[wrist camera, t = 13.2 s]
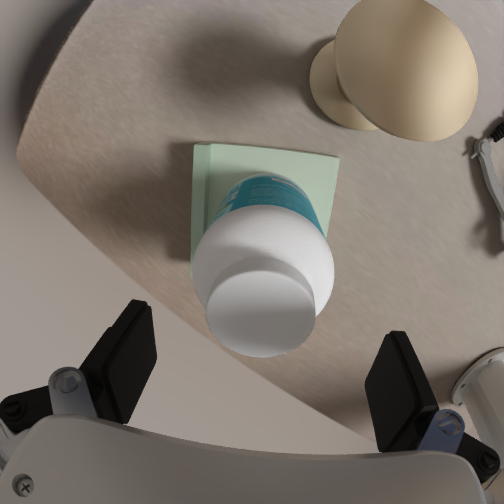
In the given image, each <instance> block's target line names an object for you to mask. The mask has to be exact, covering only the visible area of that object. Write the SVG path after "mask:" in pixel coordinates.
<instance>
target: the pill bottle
mask: <svg viewBox="0 0 504 504" xmlns="http://www.w3.org/2000/svg"><path fill="white" fill-rule="evenodd" d="M192 274H193V283H194V287H195V291H196V293H197V296H198V298H199V300H200V302H201V304H202V305H203V307H204V308H205V310H206V320H207V324H208V326H209V328H210V330H211V332H212V334H213V335H214V336H215V338H216V339H217V340H218V341H219V342H220V343H221V344H223V345H224V346H225V347H227V348H228V349H230V350H232V351H234V352H237V353H239V354H242V355H245V356H250V357H258V358H264V357H274V356H278V355H282V354H285V353H287V352H290V351H292V350H294V349H295V348H297V347H298V346H299V345H301V344H302V343H303V342H304V341H305V340H306V339H307V337H308V336H309V335H310V333H311V331H312V329H313V326H314V323H315V318H316V316H317V315H318V314H319V313H320V312H321V310H322V309H323V308H324V306H325V304H326V303H327V301H328V299H329V297H330V294H331V291H332V288H333V283H334V263H333V258H332V255H331V252H330V249H329V246H328V243H327V241H326V238H325V236H324V233H323V231H322V229H321V226H320V224H319V221H318V219H317V216H316V213H315V211H314V209H313V206H312V204H311V202H310V199H309V197H308V196H307V194H306V193H305V191H304V190H303V189H302V188H301V187H300V186H299V185H298V184H297V183H296V182H294V181H293V180H291V179H289V178H287V177H285V176H282V175H279V174H275V173H259V174H254V175H251V176H248V177H246V178H244V179H242V180H240V181H239V182H238V183H236V184H235V185H234V186H233V187H232V188H231V189H230V190H229V192H228V193H227V194H226V196H225V198H224V199H223V201H222V203H221V205H220V207H219V208H218V210H217V212H216V214H215V216H214V217H213V219H212V221H211V223H210V224H209V226H208V228H207V230H206V231H205V233H204V235H203V237H202V238H201V240H200V242H199V244H198V247H197V249H196V251H195V255H194V259H193V267H192Z"/></svg>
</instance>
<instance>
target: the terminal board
mask: <svg viewBox="0 0 504 504" xmlns="http://www.w3.org/2000/svg"><path fill="white" fill-rule="evenodd" d="M339 161H340V158H339V157H337V156H331V155H325V154H319V153H312V152H305V151H297V150H289V149H281V148H272V147H263V146H253V145H242V144H230V143H215V142H200V143H198V144H195V145H194V156H193V177H192V205H191V277H193V274H192V267H193V259H194V255H195V251H196V249H197V247H198V244H199V242H200V240H201V238H202V237H203V235H204V233H205V231H206V230H207V228H208V226H209V224H210V223H211V221H212V219H213V217H214V216H215V214H216V212H217V210H218V208H219V207H220V205H221V203H222V201H223V199H224V198H225V196H226V194H227V193H228V192H229V190H230V189H231V188H232V187H233V186H234V185H235V184H236V183H238V182H239V181H240V180H242V179H244V178H246V177H248V176H251V175H254V174H259V173H275V174H279V175H282V176H285V177H287V178H289V179H291V180H293V181H294V182H296V183H297V184H298V185H299V186H300V187H301V188H302V189H303V190H304V191H305V193H306V194H307V196H308V197H309V199H310V202H311V204H312V206H313V209H314V211H315V213H316V216H317V219H318V221H319V224H320V226H321V229H322V231H323V233H324V236H325V238H326V237H327V231H328V226H329V221H330V215H331V210H332V204H333V198H334V192H335V186H336V180H337V174H338V168H339Z"/></svg>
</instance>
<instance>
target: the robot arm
mask: <svg viewBox="0 0 504 504" xmlns="http://www.w3.org/2000/svg"><path fill="white" fill-rule="evenodd" d="M154 337H155V336H154V328H153V320H152V309H151V307H150V306H148V305H147V302H145V301H140V300H134V299H133V300H131V301H130V303H129V304H128V306H127V307H126V308H125V310H124V311H123V312H122V313H121V315H120V316H119V317H118V319H117V320H116V322H115V323H114V324H113V326H112V327H109V328H108V329H107V330H106V331H105V333H104V334H103V335H102V337H101V338H100V339H99V341H98V342H97V344H96V345H95V346H94V348H93V349H92V351H91V352H90V353H89V355H88V356H87V357H86V359H85V360H84V362H83V363H82V365H81V366H80V368H79V369H76V368H74V367H63V368H60V369H58V370H56V371H55V372H53V374H52V375H51V376H50V378H49V383H48V385H47V386H44V387H41V388H37V389H33V390H29V391H25V392H22V393H18V394H14V395H10V396H8V397H6V398H5V399H4V400H3V401H2V402H1V403H0V504H504V348H500V349H497V350H494V351H492V352H490V353H488V354H486V355H485V356H483V357H482V358H480V359H479V360H478V361H476V362H475V363H474V364H473V365H472V366H471V367H470V368H469V369H468V370H467V371H465V373H464V374H463V375H462V376H461V377H460V379H459V380H458V381H457V383H456V385H455V386H454V388H453V391H452V396H451V398H452V401H453V403H454V405H455V406H456V407H459V408H467V410H468V412H469V415H470V417H471V419H472V421H473V424H474V426H475V428H476V430H477V433H478V435H479V437H480V440H481V442H480V441H478V440H477V439H475V438H473V437H471V436H470V435H468V434H466V433H465V432H464V430H465V423H464V420H463V418H462V417H461V416H460V415H459V414H458V413H457V412H455V411H453V410H451V409H442V410H439V407H438V404H437V402H436V399H435V397H434V394H433V392H432V390H431V387H430V385H429V382H428V380H427V378H426V375H425V373H424V371H423V369H422V366H421V364H420V362H419V360H418V358H417V355H416V353H415V351H414V349H413V347H412V345H411V343H410V341H409V338H408V336H407V334H406V333H405V332H404V331H391V332H390V333H389V334H386V335H385V337H384V340H383V342H382V344H381V347H380V349H379V351H378V354H377V356H376V358H375V361H374V363H373V365H372V367H371V369H370V372H369V374H368V376H367V378H366V380H365V390H366V394H367V399H368V403H369V408H370V412H371V417H372V421H373V426H374V431H375V436H376V441H377V446H378V450H379V452H382V453H372V454H348V455H312V454H288V453H273V452H263V451H262V452H261V451H252V450H244V449H236V448H229V447H222V446H216V445H210V444H204V443H198V442H193V441H188V440H184V439H178V438H174V437H170V436H166V435H161V434H157V433H153V432H149V431H145V430H141V429H137V428H134V427H130V426H127V425H123V424H127V423H128V422H129V420H130V418H131V415H132V413H133V411H134V409H135V407H136V404H137V402H138V400H139V398H140V396H141V394H142V391H143V389H144V387H145V385H146V383H147V381H148V379H149V376H150V374H151V372H152V370H153V368H154V366H155V364H156V360H157V352H156V345H155V338H154Z"/></svg>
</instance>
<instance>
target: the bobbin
mask: <svg viewBox="0 0 504 504" xmlns="http://www.w3.org/2000/svg"><path fill="white" fill-rule="evenodd" d="M309 83H310V89H311V93H312V95H313V98H314V100H315V102H316V104H317V105H318V107H319V108H320V109H321V111H322V112H323V113H324V114H325V115H326V116H327V117H328V118H330V119H331V120H332V121H334V122H335V123H337V124H339V125H341V126H344V127H346V128H350V129H355V130H364V131H368V130H375V129H381V130H383V131H385V132H387V133H389V134H391V135H394V136H397V137H400V138H404V139H409V140H414V141H421V142H430V141H437V140H441V139H444V138H447V137H449V136H451V135H452V134H454V133H456V132H457V131H458V130H459V129H460V128H462V127H463V126H464V124H465V123H466V122H467V121H468V119H469V117H470V116H471V114H472V112H473V109H474V107H475V104H476V100H477V94H478V74H477V68H476V63H475V60H474V57H473V54H472V51H471V49H470V47H469V45H468V43H467V41H466V39H465V38H464V36H463V35H462V33H461V32H460V30H459V29H458V28H457V26H456V25H455V24H454V23H453V22H452V21H451V20H450V19H449V18H448V17H447V16H446V15H445V14H444V13H443V12H441V11H440V10H439V9H437V8H436V7H434V6H433V5H431V4H429V3H428V2H426V1H424V0H362V1H360V2H359V3H357V4H356V5H355V6H354V7H353V8H352V9H351V10H350V11H349V13H348V14H347V15H346V17H345V18H344V19H343V21H342V22H341V24H340V26H339V28H338V30H337V33H336V37H335V40H333V41H331V42H329V43H328V44H326V45H325V46H324V47H323V48H322V49H321V50H320V51H319V53H318V54H317V55H316V57H315V58H314V60H313V62H312V65H311V68H310V74H309Z"/></svg>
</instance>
